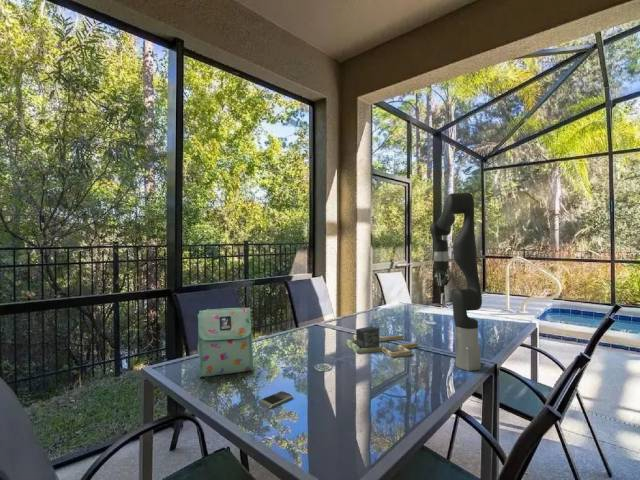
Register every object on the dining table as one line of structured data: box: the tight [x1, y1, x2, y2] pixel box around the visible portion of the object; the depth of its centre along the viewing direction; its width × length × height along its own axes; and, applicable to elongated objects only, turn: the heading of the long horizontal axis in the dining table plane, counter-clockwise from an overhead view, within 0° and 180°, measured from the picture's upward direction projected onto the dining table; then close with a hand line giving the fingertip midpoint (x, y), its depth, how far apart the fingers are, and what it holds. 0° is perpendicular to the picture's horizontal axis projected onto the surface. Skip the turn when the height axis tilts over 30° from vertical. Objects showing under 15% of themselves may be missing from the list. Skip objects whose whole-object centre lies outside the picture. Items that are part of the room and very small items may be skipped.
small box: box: [355, 325, 380, 349], centre depth 176 cm, size 11×6×10 cm, turn 123°
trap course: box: [345, 333, 419, 358], centre depth 181 cm, size 37×33×3 cm
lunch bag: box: [197, 307, 254, 378], centre depth 149 cm, size 23×16×27 cm
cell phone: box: [258, 391, 294, 410], centre depth 118 cm, size 6×11×1 cm, turn 136°
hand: (441, 293), depth 181 cm, fingers closed
